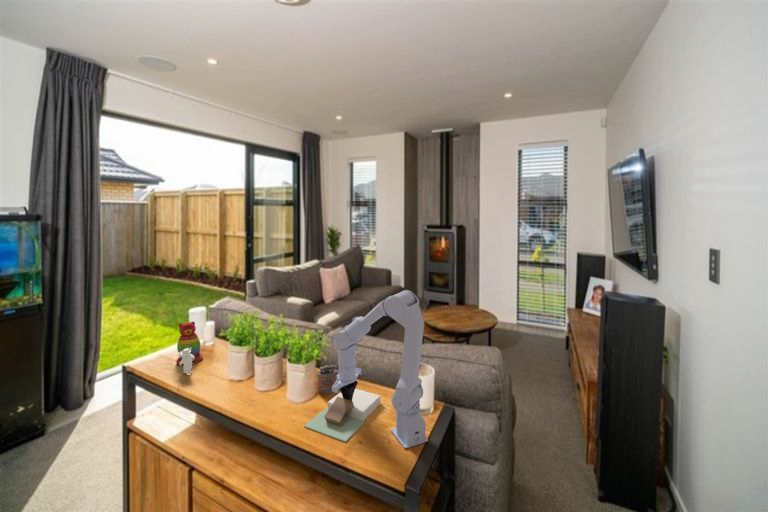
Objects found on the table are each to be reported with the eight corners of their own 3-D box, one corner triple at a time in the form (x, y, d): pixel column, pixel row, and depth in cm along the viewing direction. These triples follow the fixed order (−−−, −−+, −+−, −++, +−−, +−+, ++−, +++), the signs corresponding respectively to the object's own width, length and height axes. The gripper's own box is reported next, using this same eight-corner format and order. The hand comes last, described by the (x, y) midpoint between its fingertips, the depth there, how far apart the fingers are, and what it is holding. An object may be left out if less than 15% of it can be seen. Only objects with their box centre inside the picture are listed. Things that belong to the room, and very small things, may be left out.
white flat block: (347, 393, 128) (347, 386, 128) (380, 403, 122) (380, 395, 121) (328, 410, 118) (327, 402, 117) (362, 421, 111) (362, 413, 111)
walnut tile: (339, 401, 117) (337, 396, 116) (354, 405, 114) (352, 400, 113) (326, 421, 111) (324, 416, 110) (341, 426, 108) (339, 421, 107)
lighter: (318, 394, 128) (317, 369, 127) (317, 390, 131) (316, 365, 130) (339, 391, 130) (338, 366, 129) (338, 387, 133) (337, 362, 132)
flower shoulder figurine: (198, 374, 145) (196, 347, 144) (189, 378, 142) (186, 350, 140) (185, 369, 149) (183, 343, 148) (176, 373, 146) (174, 346, 144)
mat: (325, 409, 118) (325, 408, 118) (365, 422, 111) (365, 421, 111) (304, 427, 109) (304, 425, 109) (345, 442, 101) (345, 441, 101)
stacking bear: (176, 366, 153) (172, 327, 151) (177, 357, 162) (173, 321, 160) (203, 360, 158) (200, 323, 156) (202, 353, 167) (200, 318, 165)
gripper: (349, 354, 122) (350, 390, 124) (323, 370, 110) (325, 410, 111) (366, 358, 119) (366, 394, 121) (341, 375, 106) (342, 416, 108)
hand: (347, 402), depth 116 cm, fingers closed
